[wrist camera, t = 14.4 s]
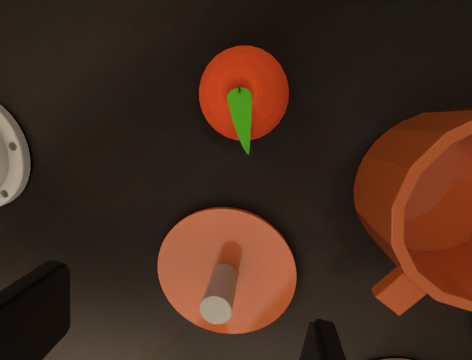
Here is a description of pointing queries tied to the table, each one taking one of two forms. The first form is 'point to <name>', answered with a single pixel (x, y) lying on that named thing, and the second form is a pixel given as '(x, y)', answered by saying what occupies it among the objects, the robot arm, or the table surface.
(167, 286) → the pot lid
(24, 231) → the table surface
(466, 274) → the pot
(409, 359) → the jar
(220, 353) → the table surface
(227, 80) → the clementine
